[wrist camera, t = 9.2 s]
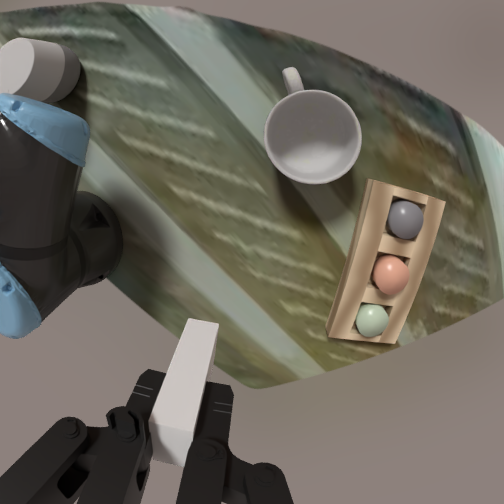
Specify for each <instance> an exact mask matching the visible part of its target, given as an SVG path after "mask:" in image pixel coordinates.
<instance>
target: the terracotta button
mask: <svg viewBox="0 0 504 504" xmlns="http://www.w3.org/2000/svg"><path fill="white" fill-rule="evenodd" d="M371 276H372V279H373V280H374V282H375V283H376V285H377V286H378V287H379V289H380V290H381V291H382V292H383V293H385V294H389V295H392V294H396V293H398V292H400V291H401V290H403V289H404V288H405V286H406V285H407V283H408V281H409V276H410V274H409V269H408V267H407V266H406V265H405V264H404V263H403V262H402V261H401V260H400V259H399V258H398V257H397V256H395V255H393V254H385V255H382V256H380V257H379V258H378V259H377V260H376V261H375V262H374V265H373V268H372V272H371Z"/></svg>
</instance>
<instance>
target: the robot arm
mask: <svg viewBox="0 0 504 504" xmlns="http://www.w3.org/2000/svg"><path fill="white" fill-rule="evenodd" d="M89 138H90V128H89V126H88V124H87V122H86V121H85V120H84V119H82V118H81V117H79V116H77V115H75V114H72V113H70V112H68V111H65V110H63V109H60V108H57V107H54V106H52V105H49V104H46V103H43V102H40V101H36V100H33V99H30V98H26V97H22V96H18V95H12V94H9V93H1V94H0V334H2V335H4V336H6V337H9V338H13V339H18V338H22V337H25V336H26V335H27V334H29V333H30V332H31V331H33V330H34V329H35V328H38V327H39V326H40V325H41V322H42V321H43V320H44V319H45V318H46V317H47V316H48V315H49V314H50V313H51V312H53V311H54V310H55V308H57V307H58V306H59V305H60V304H61V303H62V302H63V301H64V300H65V299H66V298H67V297H68V296H69V295H71V294H72V293H73V292H74V291H75V290H76V289H77V288H80V287H84V286H88V285H92V284H96V283H98V282H100V281H102V280H104V279H105V278H106V277H107V276H108V275H109V274H111V273H112V272H113V271H114V269H115V268H116V267H117V265H118V263H119V261H120V258H121V254H122V248H123V240H122V233H121V229H120V225H119V223H118V220H117V218H116V216H115V214H114V213H113V211H112V210H111V208H110V207H109V206H108V205H107V204H106V203H105V202H104V201H103V200H102V199H101V198H99V197H98V196H96V195H94V194H92V193H89V192H85V191H77V190H78V185H79V181H80V177H81V173H82V169H83V167H85V161H84V160H85V155H86V151H87V146H88V142H89ZM218 327H219V324H217V323H211V322H206V321H201V320H196V319H191V318H189V319H188V321H187V323H186V326H185V328H184V331H183V333H182V336H181V338H180V341H179V343H178V346H177V349H176V351H175V353H174V356H173V359H172V361H171V363H170V366H169V369H168V371H167V373H163V372H159V371H154V370H151V369H148V370H147V371H145V372H144V373H143V374H141V376H140V377H139V379H138V381H137V383H136V386H135V387H134V390H133V393H132V394H131V396H130V398H129V400H128V402H127V405H126V407H124V406H121V407H116V408H113V409H111V410H110V411H109V412H108V413H107V414H106V417H107V421H108V425H109V426H108V427H89V426H86V425H85V424H84V423H83V422H82V421H81V420H79V419H77V418H75V417H65V418H62V419H60V420H59V421H57V422H56V423H55V424H54V425H53V426H52V427H51V428H50V429H49V430H48V431H47V432H46V433H45V434H44V435H43V436H42V437H41V438H40V439H39V440H38V441H37V442H36V443H35V444H34V445H32V447H30V448H29V450H27V451H26V452H25V453H24V454H23V455H22V456H21V457H20V458H19V459H18V460H17V461H16V462H15V463H14V464H13V465H12V466H11V467H10V468H9V469H8V470H7V471H6V472H5V473H4V474H3V475H2V476H1V477H0V504H74V502H75V501H76V500H77V499H78V497H79V496H80V497H79V499H78V502H77V504H140V503H141V499H142V496H143V493H144V489H145V486H146V482H147V479H148V476H149V472H150V464H149V463H150V460H151V457H152V455H153V460H157V461H161V462H165V463H170V464H173V465H178V466H183V467H184V470H183V474H182V479H181V483H180V488H179V492H178V496H177V501H176V504H221V501H222V502H224V503H227V504H294V503H293V500H292V497H291V494H290V491H289V488H288V485H287V482H286V479H285V476H284V474H283V472H282V471H281V469H279V468H278V467H277V466H276V465H273V464H270V463H257V464H254V465H252V464H250V463H247V462H245V461H242V460H240V459H239V458H237V457H236V456H234V455H233V454H232V452H231V451H230V449H229V446H228V438H229V430H230V422H231V413H232V405H233V398H234V397H233V396H234V394H233V392H232V389H231V387H230V385H224V384H219V383H213V382H210V377H211V372H212V368H213V363H214V355H215V348H216V341H217V334H218Z"/></svg>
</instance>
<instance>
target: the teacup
mask: <svg viewBox="0 0 504 504" xmlns="http://www.w3.org/2000/svg"><path fill="white" fill-rule="evenodd" d="M282 73H283V78H284V82H285V85H286V88H287V91H288V94H289V96H287V97H285V98H284V99H282V100H281V101H279V102H278V103H277V104H276V105H275V106H274V107H273V109H272V110H271V112H270V113H269V115H268V117H267V120H266V123H265V127H264V143H265V148H266V151H267V154H268V156H269V158H270V160H271V161H272V163H273V164H274V165H275V167H276V168H277V169H278V170H279V171H280V172H281V173H283V174H284V175H286V176H287V177H289V178H290V179H292V180H294V181H297V182H301V183H305V184H324V183H328V182H331V181H334V180H336V179H338V178H340V177H342V176H343V175H344V174H346V173H347V172H348V171H349V170H350V168H351V167H352V166H353V164H354V163H355V161H356V159H357V158H358V155H359V152H360V149H361V141H362V134H361V128H360V124H359V122H358V119H357V118H356V115H355V114H354V112H353V111H352V109H351V108H350V107H349V106H348V105H347V103H345V102H344V101H343V100H341V99H340V98H339V97H337V96H335V95H333V94H331V93H328V92H325V91H320V90H304V88H303V84H302V81H301V78H300V76H299V73H298V71H297V70H296V69H295V68H293V67H289V68H286V69H284V70H283V72H282Z"/></svg>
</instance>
